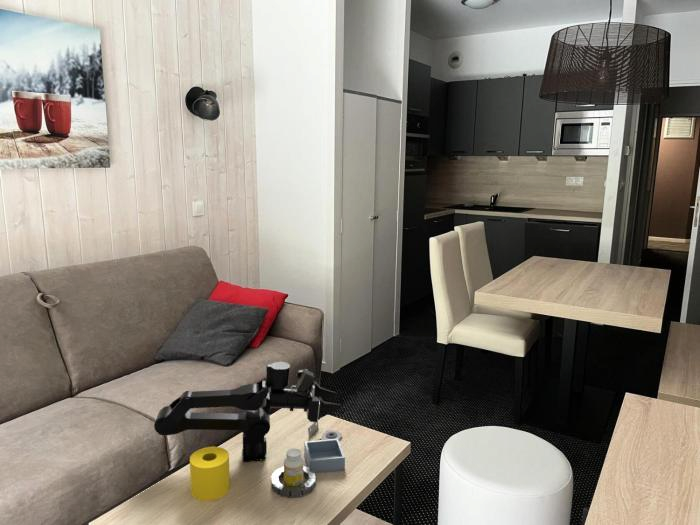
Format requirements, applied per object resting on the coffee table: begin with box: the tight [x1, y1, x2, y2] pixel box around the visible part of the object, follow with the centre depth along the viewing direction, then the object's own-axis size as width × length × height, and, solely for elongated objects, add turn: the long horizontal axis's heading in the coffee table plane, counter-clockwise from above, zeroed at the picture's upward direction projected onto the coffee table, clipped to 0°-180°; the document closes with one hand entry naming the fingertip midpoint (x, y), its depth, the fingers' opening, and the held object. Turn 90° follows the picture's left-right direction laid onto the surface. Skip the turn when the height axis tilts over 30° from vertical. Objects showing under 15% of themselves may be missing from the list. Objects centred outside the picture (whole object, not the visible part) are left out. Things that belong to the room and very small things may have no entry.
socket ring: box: [270, 465, 317, 499], centre depth 146 cm, size 12×12×2 cm
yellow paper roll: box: [189, 446, 231, 502], centre depth 142 cm, size 10×10×9 cm
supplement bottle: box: [283, 448, 305, 487], centre depth 145 cm, size 5×5×10 cm
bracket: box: [307, 419, 343, 441], centre depth 171 cm, size 7×10×4 cm, turn 67°
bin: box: [303, 439, 346, 474], centre depth 157 cm, size 10×10×4 cm
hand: (339, 400), depth 160 cm, fingers open, 9 cm apart
